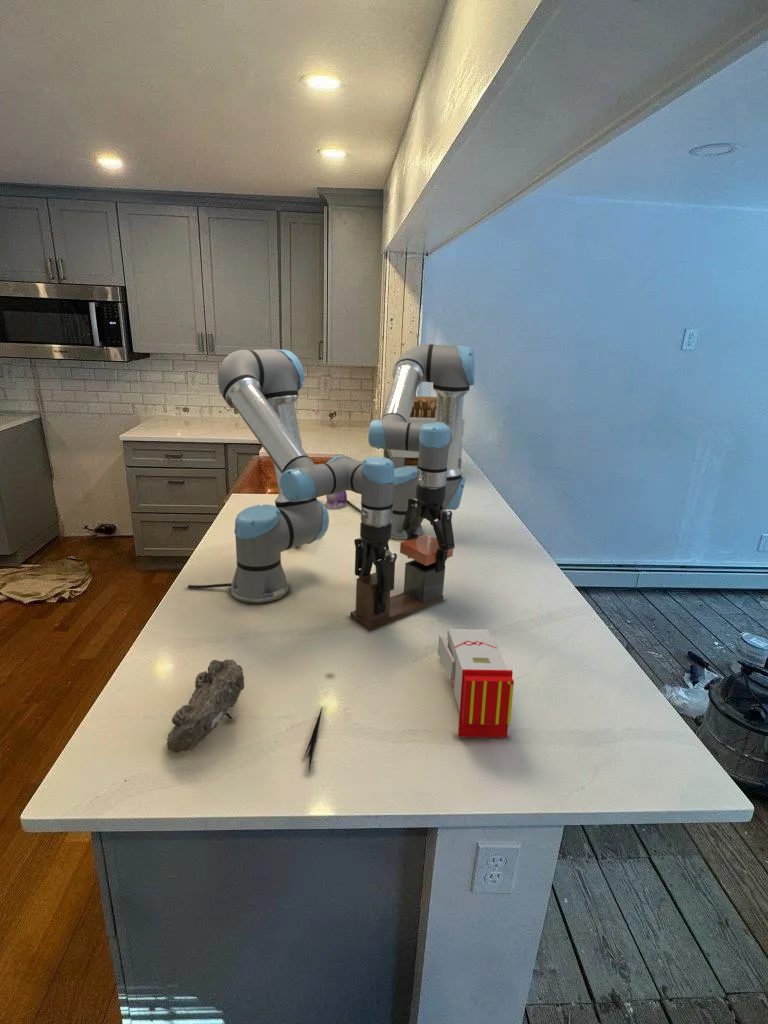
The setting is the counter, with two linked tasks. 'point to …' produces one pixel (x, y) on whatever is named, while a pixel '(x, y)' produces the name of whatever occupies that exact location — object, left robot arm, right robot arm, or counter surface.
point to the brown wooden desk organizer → (418, 594)
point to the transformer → (420, 414)
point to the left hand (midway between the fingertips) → (372, 607)
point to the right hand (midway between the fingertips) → (425, 563)
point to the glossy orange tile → (422, 549)
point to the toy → (478, 682)
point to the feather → (313, 740)
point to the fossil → (206, 705)
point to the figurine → (336, 500)
